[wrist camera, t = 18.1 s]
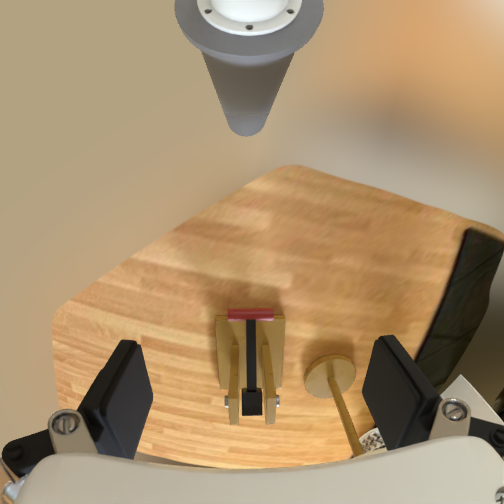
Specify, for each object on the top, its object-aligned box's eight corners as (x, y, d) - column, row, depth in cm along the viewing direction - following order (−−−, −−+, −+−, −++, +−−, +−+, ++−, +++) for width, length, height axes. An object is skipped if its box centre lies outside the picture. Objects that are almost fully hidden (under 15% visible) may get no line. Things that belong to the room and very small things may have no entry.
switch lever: (228, 309, 34) (227, 308, 31) (272, 308, 34) (274, 307, 31) (230, 409, 31) (229, 415, 28) (273, 409, 31) (275, 415, 28)
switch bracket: (215, 315, 38) (205, 370, 27) (284, 314, 38) (298, 369, 27) (220, 384, 41) (214, 443, 30) (280, 383, 41) (289, 442, 30)
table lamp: (300, 351, 40) (343, 508, 16) (365, 345, 40) (442, 477, 16) (294, 400, 42) (321, 539, 18) (353, 394, 43) (405, 517, 18)
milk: (439, 395, 44) (490, 468, 23) (460, 373, 43) (518, 442, 22) (450, 402, 46) (497, 470, 24) (469, 382, 44) (522, 446, 23)
